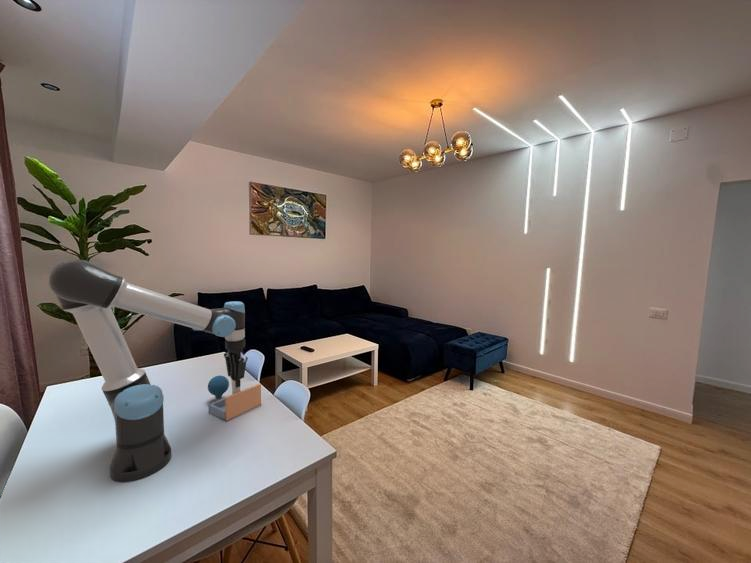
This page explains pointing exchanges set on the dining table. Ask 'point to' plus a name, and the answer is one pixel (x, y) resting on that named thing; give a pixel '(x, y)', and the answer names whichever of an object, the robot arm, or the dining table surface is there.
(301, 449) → the dining table surface
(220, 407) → the blue-grey shallow rectangular box
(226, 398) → the panel
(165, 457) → the robot arm
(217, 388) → the light bulb
